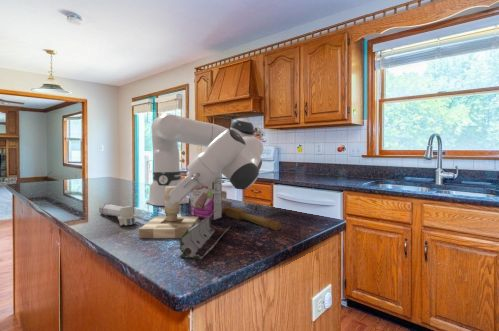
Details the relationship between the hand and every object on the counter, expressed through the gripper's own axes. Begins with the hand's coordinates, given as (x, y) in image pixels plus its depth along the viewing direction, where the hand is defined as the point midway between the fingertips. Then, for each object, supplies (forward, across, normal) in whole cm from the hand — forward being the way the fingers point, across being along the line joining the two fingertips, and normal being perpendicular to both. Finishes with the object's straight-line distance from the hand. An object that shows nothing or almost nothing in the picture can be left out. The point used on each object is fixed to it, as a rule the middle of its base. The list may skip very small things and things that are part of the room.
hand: (169, 204), depth 94 cm
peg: (+5, 0, -6) cm, 8 cm away
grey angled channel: (-4, -13, -16) cm, 21 cm away
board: (+5, -2, -6) cm, 8 cm away
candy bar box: (0, +16, -12) cm, 20 cm away
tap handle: (-11, +11, -23) cm, 28 cm away
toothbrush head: (+22, +13, +10) cm, 27 cm away
